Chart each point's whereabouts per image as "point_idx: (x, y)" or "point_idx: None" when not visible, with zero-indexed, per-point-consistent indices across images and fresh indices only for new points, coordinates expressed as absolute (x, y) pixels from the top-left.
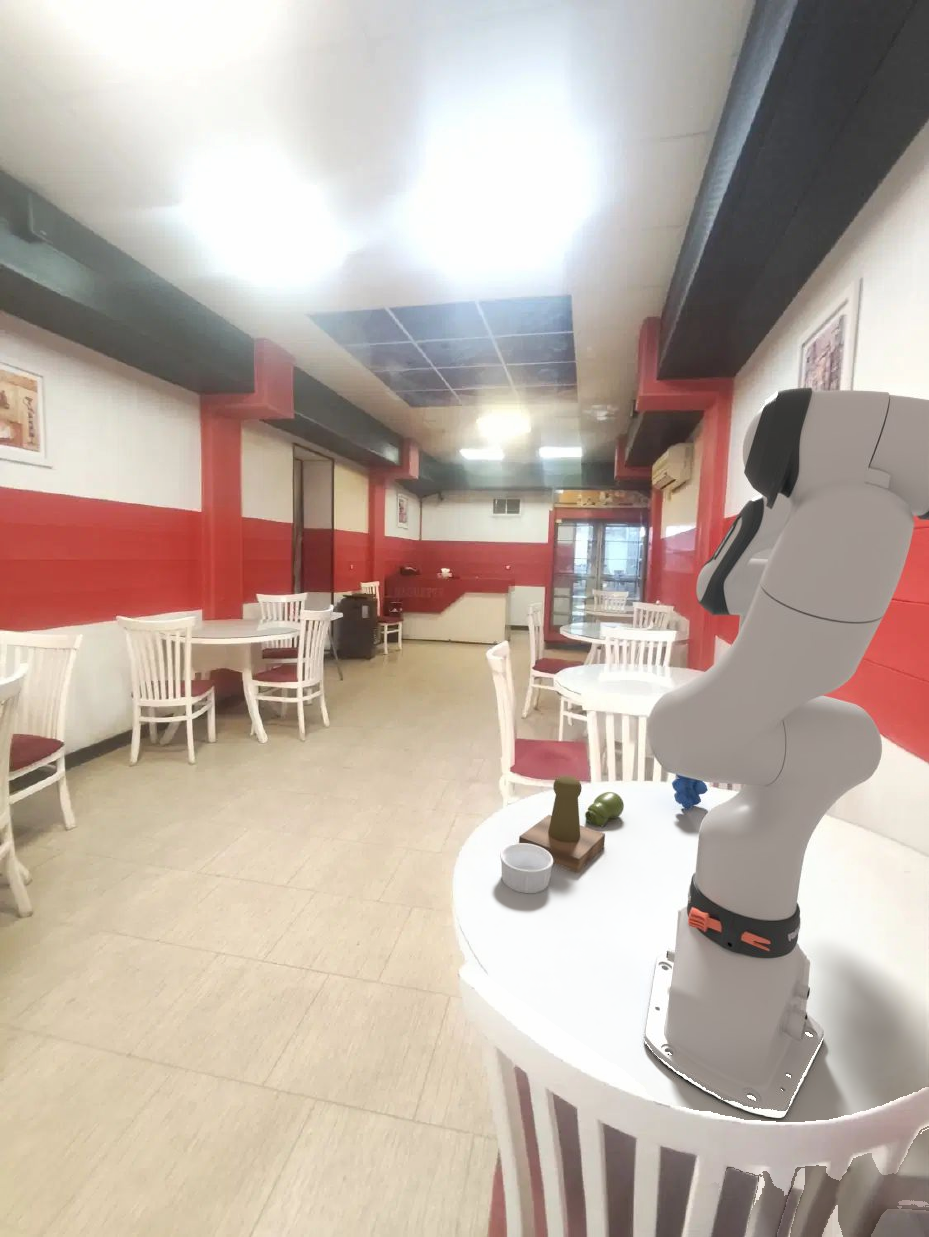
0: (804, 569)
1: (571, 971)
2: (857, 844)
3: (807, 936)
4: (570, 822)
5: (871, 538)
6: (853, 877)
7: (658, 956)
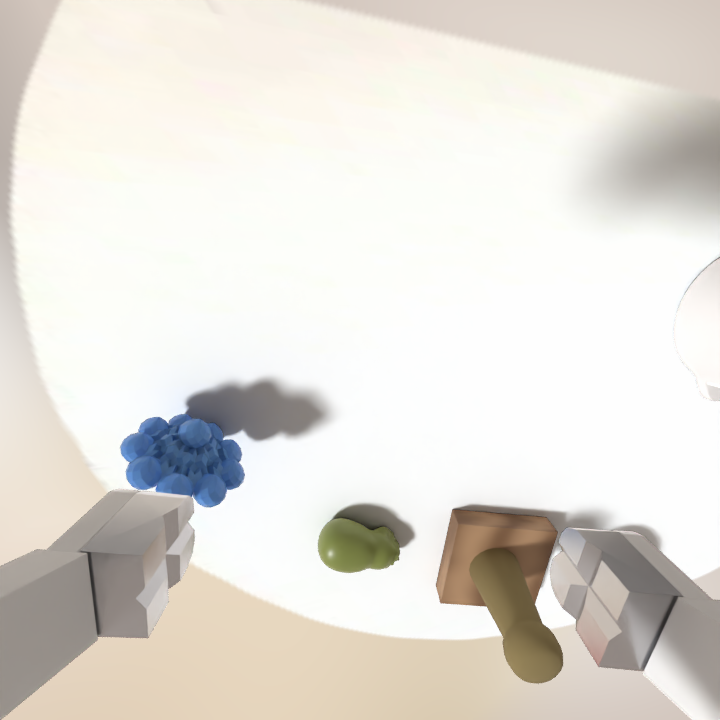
0: None
1: None
2: (136, 98)
3: (566, 226)
4: (526, 584)
5: None
6: (317, 130)
7: (715, 400)
